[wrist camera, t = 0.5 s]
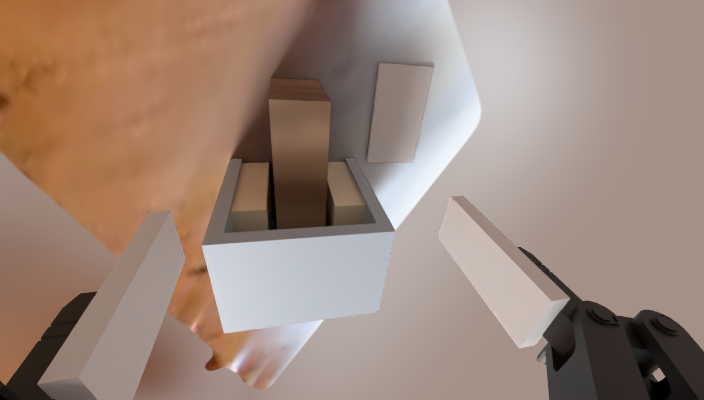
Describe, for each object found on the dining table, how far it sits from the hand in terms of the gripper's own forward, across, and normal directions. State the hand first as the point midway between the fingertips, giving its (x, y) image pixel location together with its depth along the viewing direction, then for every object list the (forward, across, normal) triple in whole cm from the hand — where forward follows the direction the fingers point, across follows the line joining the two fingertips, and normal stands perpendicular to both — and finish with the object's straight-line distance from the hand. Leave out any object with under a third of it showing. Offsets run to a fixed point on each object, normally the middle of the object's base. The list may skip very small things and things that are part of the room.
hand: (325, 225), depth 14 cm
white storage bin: (+19, 0, -10) cm, 22 cm away
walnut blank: (+20, 0, -4) cm, 20 cm away
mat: (+19, +11, 0) cm, 22 cm away
